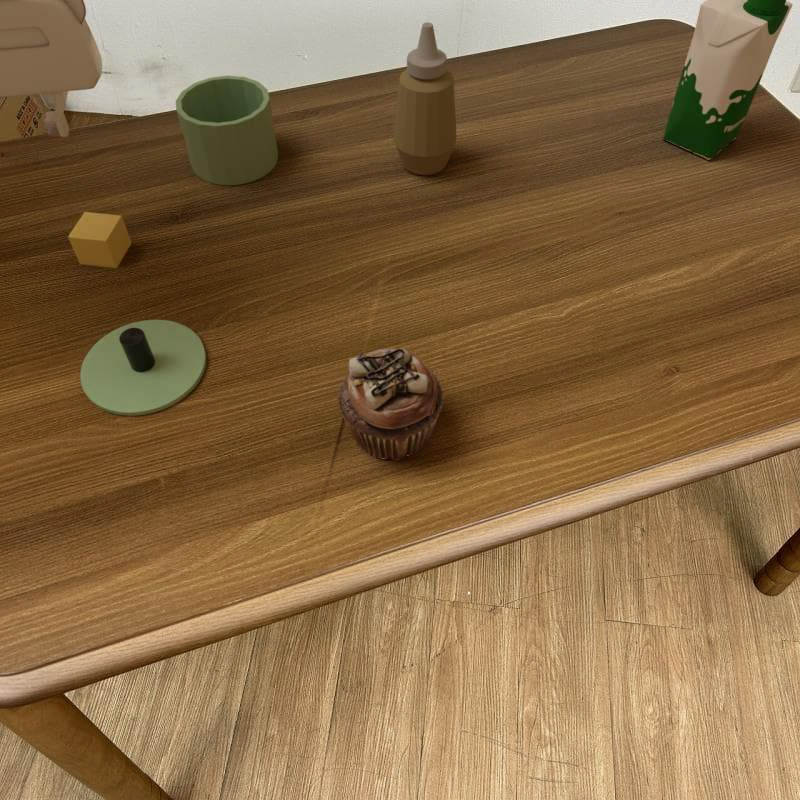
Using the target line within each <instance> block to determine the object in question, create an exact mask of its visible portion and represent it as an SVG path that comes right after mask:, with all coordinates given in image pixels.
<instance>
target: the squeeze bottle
mask: <svg viewBox="0 0 800 800" xmlns="http://www.w3.org/2000/svg"><path fill="white" fill-rule="evenodd" d="M447 61H448V56H447V54H446V53H445V52H444V51H443V50H441V49H439V48H438V45H437V40H436V34H435V29H434V24H433V23H432V22H429V21H427V22H423V23H422V26H421V30H420V34H419V39H418V43H417V48H415V49H412V50H411V51H409V52H408V54H407V57H406V69H404V70H403V71H402V72H401V73H400V76H399V78H398V87H397V98H396V108H395V118H394V119H395V120H394V128H393V129H394V130H393V142H394V144H395V148H396V150H397V152H398V155H399V158H400V160H401V163H402V166H403V168H404V169H405V170H406V171H407V172H409V173H412V174H415V175H420V176H431V175H435V174H437V173H440V172H442V171H443V170H444V169H445V168H446V167H447V164H448V162H449V160H450V158H451V155H452V154H453V151H454V147H455V146H456V142H457V120H456V119H457V117H456V99H455V98H456V97H455V96H456V95H455V81H454V80H455V79H454V76H453V74H452V72H451V71H450V70H448V69H447V65H448V64H447Z"/></svg>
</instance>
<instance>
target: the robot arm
mask: <svg viewBox="0 0 800 800" xmlns="http://www.w3.org/2000/svg"><path fill="white" fill-rule="evenodd" d="M86 15H87V9H86V4H85V1H84V0H0V98H10V97H20V96H32V95H41V94H45V97H46V99H47V102H48V103H49V104H55V108H54V110H49V111H45V113H44V118H43V125H44V127H45V130H46V131H48V132H47V134H48V138H49V139H60V138H68V137H69V133H70V127H69V123H68V120H67V118H66V115H65V113H64V112H65V109H66V104H67V100H68V95H69V92H75V91H86V90H92V89H94V88H95V87H96V86H97V84H98V83H99V81H100V79H101V77H102V72H103V59H102V55H101V51H100V50H99V46H98V44H97V42H96V40H95V37H94V35H93V32H92V31H91V28H90V26H89V24H88V22H87V20H86Z"/></svg>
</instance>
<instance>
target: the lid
mask: <svg viewBox="0 0 800 800" xmlns="http://www.w3.org/2000/svg"><path fill="white" fill-rule="evenodd" d="M206 365H207V353H206V348H205V346H204V343H203V342H202V340H201V338H200V337H199V336H198V334H197V333H196V332H194V330H192V329H191V328H189V327H187V326H186V325H184V324H183V323H180V322H177V321H172V320H167V319H146V320H140V321H134V322H130V323H128V324H125V325H122V326H120V327H118V328H116V329H114V330H112V331H110V332H109V333H107V334H105V335H104V336H103V337H102V338H100V339H99V340H98V341H97V342H95V344H94V345H93V346H92V347H91V348H90V349H89V351H88V352H87V354H86V355H85V357H84V359H83V361H82V364H81V367H80V373H79V377H80V384H81V388H82V390H83V392H84V394H85V396H86V397H87V398H88V400H89V401H90V402H91V403H92V404H93V405H94V406H96V407H97V408H99V409H100V410H103V411H105V412H107V413H110V414H114V415H116V416H117V415H118V416H128V417H135V416H136V417H137V416H146V415H150V414H154V413H157V412H161V411H163V410H166V409H168V408H170V407H172V406H174V405H176V404H177V403H179V402H181V401H182V400H183V399H185V398H186V397H187V396H189V394H190V393H192V392H193V390H194V389H195V388H196V387H197V386H198V384H199V383H200V381H201V379H202V378H203V376H204V373H205V371H206Z"/></svg>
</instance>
